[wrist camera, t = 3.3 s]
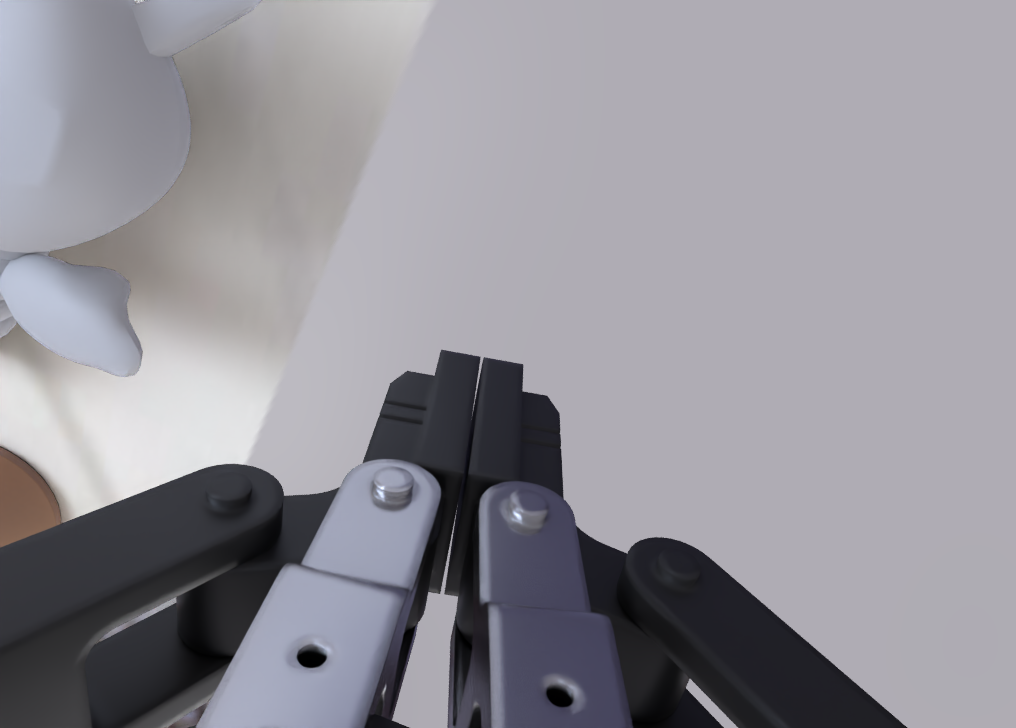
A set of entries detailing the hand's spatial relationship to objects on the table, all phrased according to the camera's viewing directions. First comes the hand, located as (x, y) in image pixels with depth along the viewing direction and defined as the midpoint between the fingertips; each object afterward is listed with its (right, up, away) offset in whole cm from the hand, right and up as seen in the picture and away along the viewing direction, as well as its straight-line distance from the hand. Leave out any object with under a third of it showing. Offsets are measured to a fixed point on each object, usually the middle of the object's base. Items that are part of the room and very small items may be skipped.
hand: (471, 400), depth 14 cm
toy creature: (-14, +8, +11) cm, 20 cm away
